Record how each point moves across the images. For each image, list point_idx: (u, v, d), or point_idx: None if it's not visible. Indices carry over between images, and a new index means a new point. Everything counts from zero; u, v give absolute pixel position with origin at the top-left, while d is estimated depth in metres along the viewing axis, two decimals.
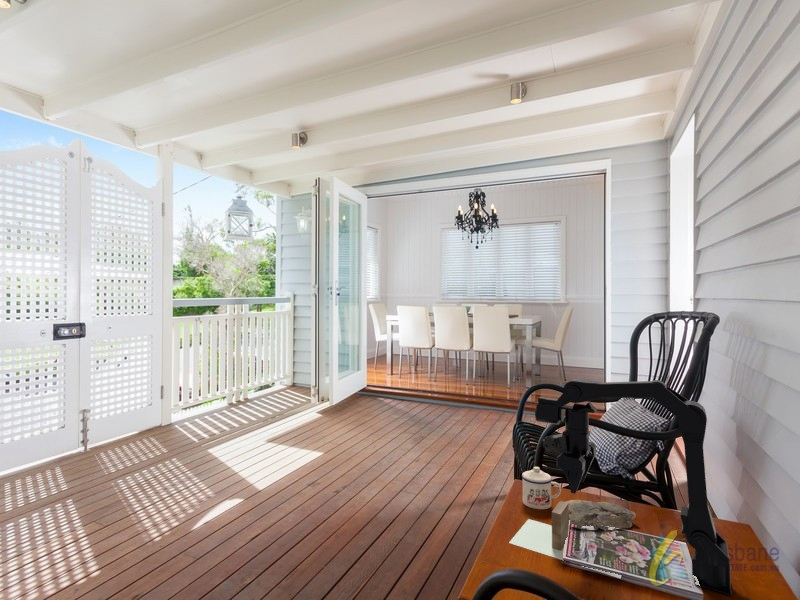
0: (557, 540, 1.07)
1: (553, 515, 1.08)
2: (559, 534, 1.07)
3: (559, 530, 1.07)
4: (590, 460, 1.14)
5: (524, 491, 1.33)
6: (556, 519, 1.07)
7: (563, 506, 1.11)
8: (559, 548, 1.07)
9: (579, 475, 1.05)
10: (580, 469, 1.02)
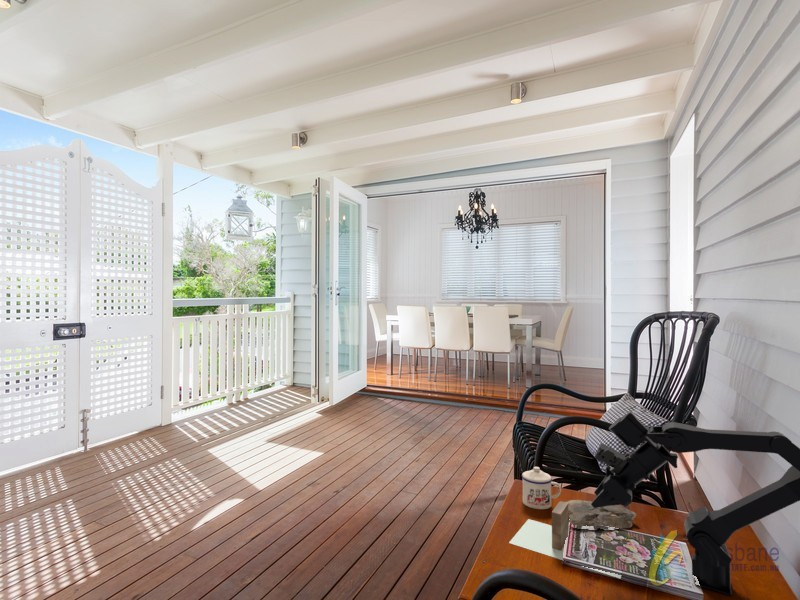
0: (557, 540, 1.07)
1: (553, 515, 1.08)
2: (559, 534, 1.07)
3: (559, 530, 1.07)
4: None
5: (524, 491, 1.33)
6: (556, 519, 1.07)
7: (563, 506, 1.11)
8: (559, 548, 1.07)
9: (615, 502, 0.99)
10: (625, 505, 0.95)
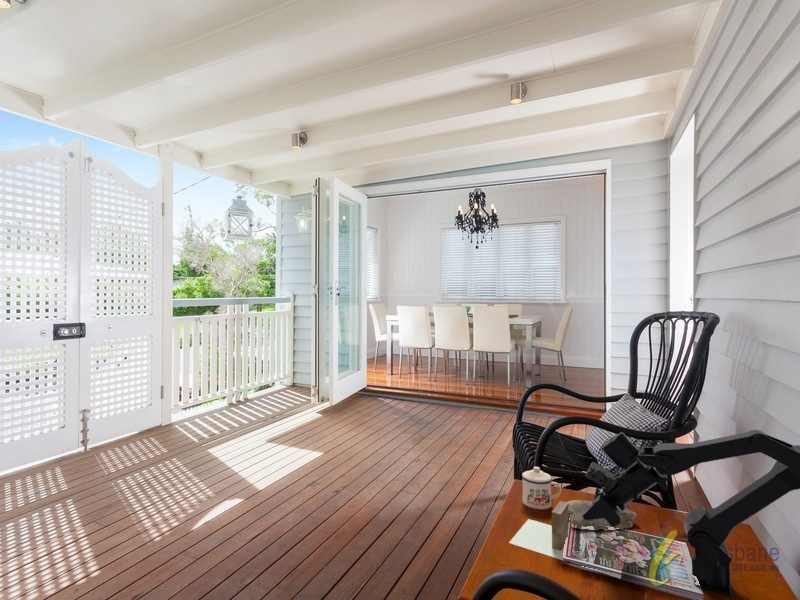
0: (557, 540, 1.07)
1: (553, 515, 1.08)
2: (559, 534, 1.07)
3: (559, 530, 1.07)
4: None
5: (524, 491, 1.33)
6: (556, 519, 1.07)
7: (563, 506, 1.11)
8: (559, 548, 1.07)
9: None
10: (614, 525, 0.96)
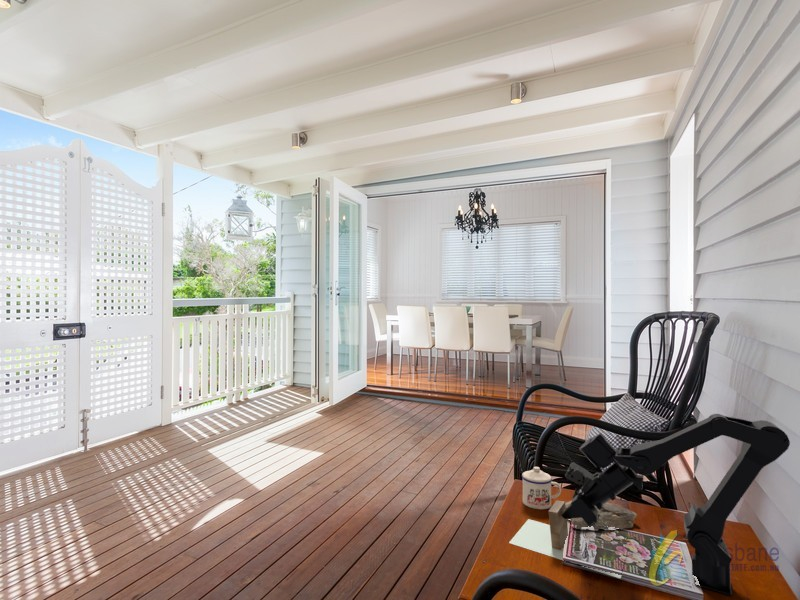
0: (556, 540, 1.07)
1: (550, 514, 1.08)
2: (557, 533, 1.07)
3: (557, 529, 1.07)
4: None
5: (524, 491, 1.33)
6: (553, 518, 1.08)
7: (560, 505, 1.12)
8: (559, 547, 1.07)
9: None
10: (590, 524, 0.99)
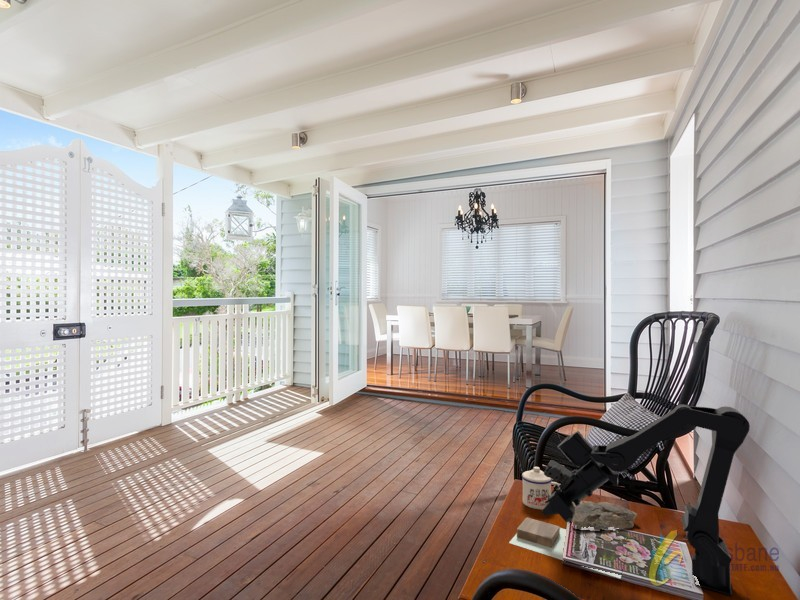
0: (542, 539, 1.09)
1: (519, 536, 1.12)
2: (536, 535, 1.10)
3: (532, 534, 1.10)
4: None
5: (524, 491, 1.33)
6: (522, 534, 1.12)
7: None
8: (549, 539, 1.08)
9: None
10: (567, 520, 1.01)
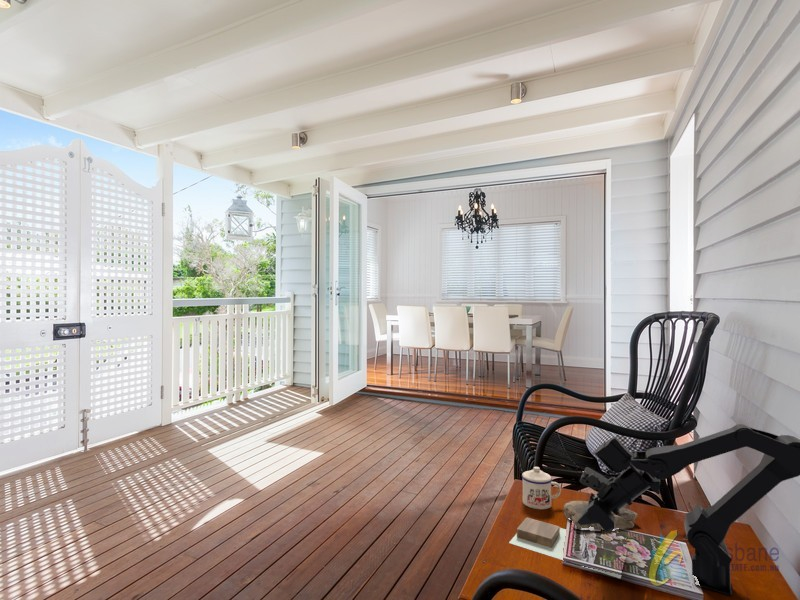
0: (542, 539, 1.09)
1: (519, 536, 1.12)
2: (536, 535, 1.10)
3: (532, 534, 1.10)
4: None
5: (524, 491, 1.33)
6: (522, 534, 1.12)
7: None
8: (549, 539, 1.08)
9: None
10: (608, 531, 0.97)
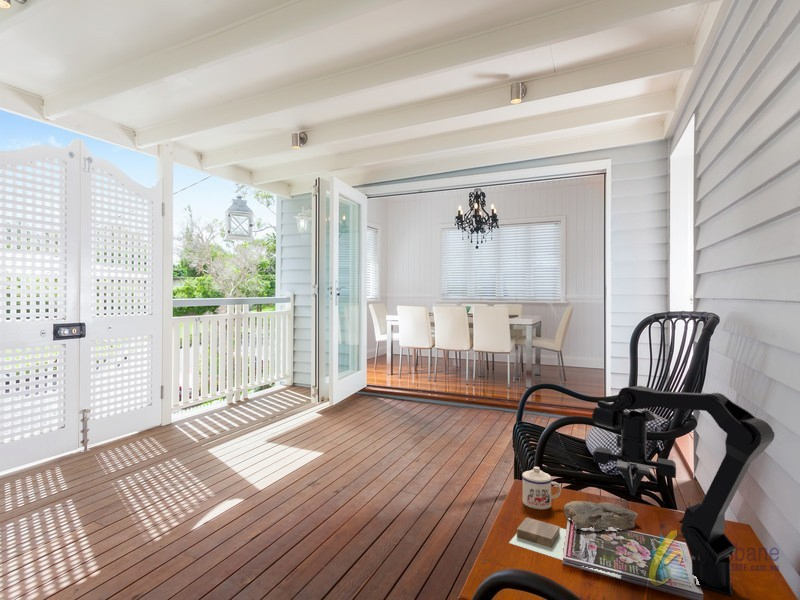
0: (542, 539, 1.09)
1: (519, 536, 1.12)
2: (536, 535, 1.10)
3: (532, 534, 1.10)
4: (635, 474, 1.08)
5: (524, 491, 1.33)
6: (522, 534, 1.12)
7: None
8: (549, 539, 1.08)
9: None
10: (593, 460, 1.13)
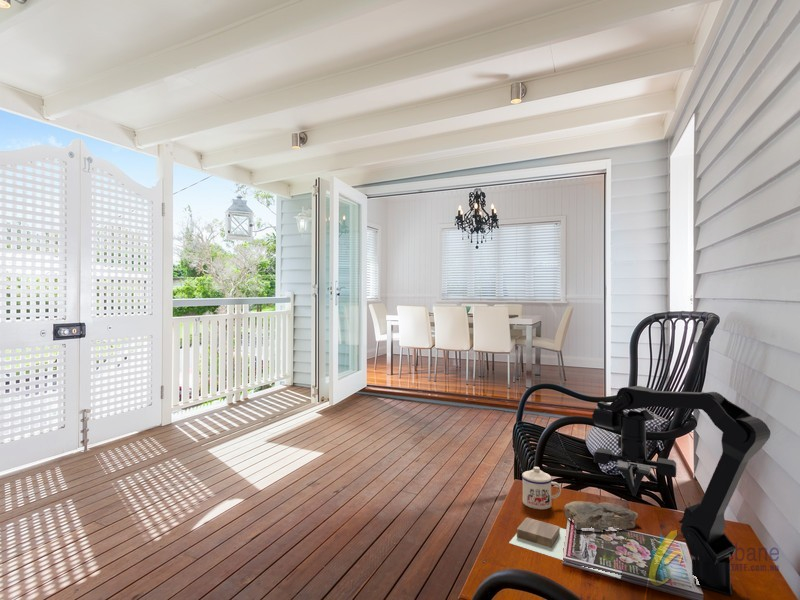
0: (542, 539, 1.09)
1: (519, 536, 1.12)
2: (536, 535, 1.10)
3: (532, 534, 1.10)
4: None
5: (524, 491, 1.33)
6: (522, 534, 1.12)
7: None
8: (549, 539, 1.08)
9: None
10: (594, 460, 1.14)
